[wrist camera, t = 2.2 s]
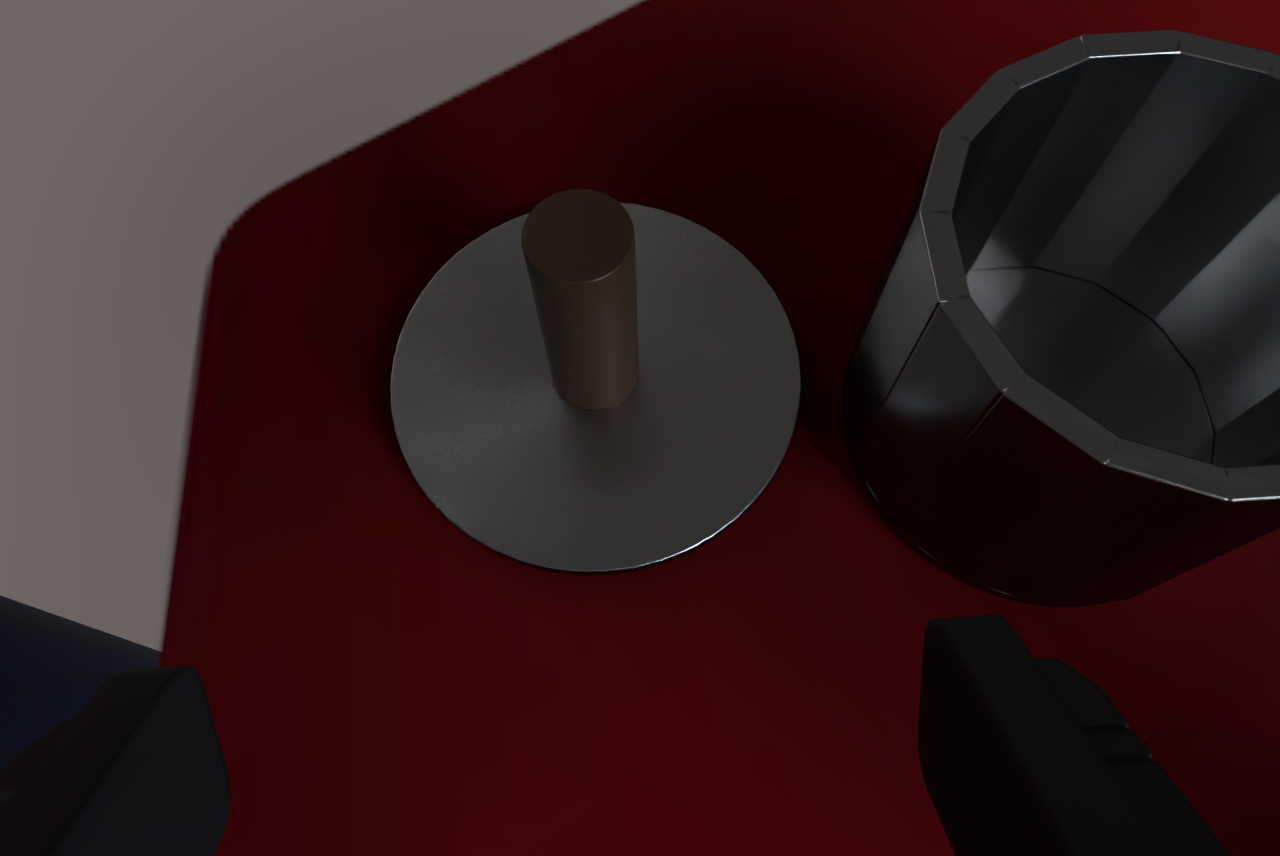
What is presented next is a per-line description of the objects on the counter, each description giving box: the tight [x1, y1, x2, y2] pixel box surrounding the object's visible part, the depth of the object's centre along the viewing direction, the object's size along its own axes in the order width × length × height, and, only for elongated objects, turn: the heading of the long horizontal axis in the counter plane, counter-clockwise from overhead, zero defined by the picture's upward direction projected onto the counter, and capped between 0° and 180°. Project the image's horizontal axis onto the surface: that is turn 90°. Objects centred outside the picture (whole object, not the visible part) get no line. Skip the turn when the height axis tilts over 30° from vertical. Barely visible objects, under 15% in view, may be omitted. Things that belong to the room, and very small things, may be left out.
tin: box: [841, 30, 1280, 607], centre depth 24 cm, size 11×11×10 cm
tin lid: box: [390, 189, 801, 576], centre depth 25 cm, size 12×12×8 cm
